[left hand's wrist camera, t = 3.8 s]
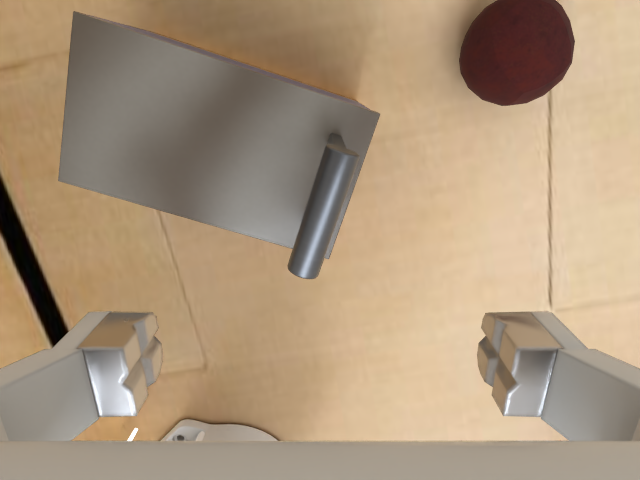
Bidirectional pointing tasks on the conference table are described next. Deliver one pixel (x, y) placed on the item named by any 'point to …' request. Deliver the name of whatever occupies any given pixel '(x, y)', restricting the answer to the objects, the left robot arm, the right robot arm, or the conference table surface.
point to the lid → (210, 140)
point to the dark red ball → (517, 50)
